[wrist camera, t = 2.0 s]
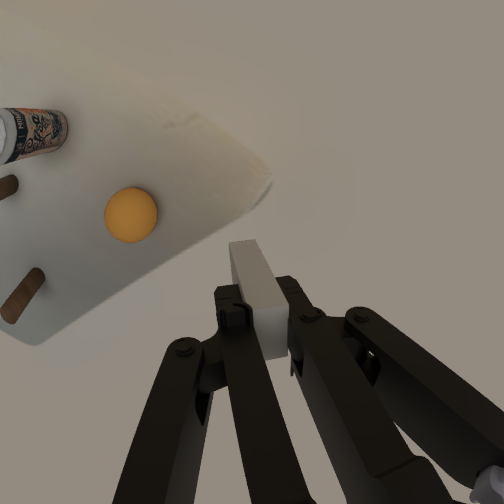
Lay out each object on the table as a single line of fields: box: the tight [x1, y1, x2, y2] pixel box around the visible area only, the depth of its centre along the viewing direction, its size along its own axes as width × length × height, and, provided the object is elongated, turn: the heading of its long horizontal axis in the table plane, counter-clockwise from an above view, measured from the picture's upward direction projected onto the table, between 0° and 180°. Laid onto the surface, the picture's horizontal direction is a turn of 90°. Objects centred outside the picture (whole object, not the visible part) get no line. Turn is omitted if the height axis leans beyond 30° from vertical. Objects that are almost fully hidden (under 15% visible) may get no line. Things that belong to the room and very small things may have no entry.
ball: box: [104, 188, 157, 243], centre depth 27 cm, size 6×6×6 cm
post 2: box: [0, 268, 45, 324], centre depth 25 cm, size 2×2×9 cm
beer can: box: [0, 108, 67, 166], centre depth 18 cm, size 5×5×12 cm
